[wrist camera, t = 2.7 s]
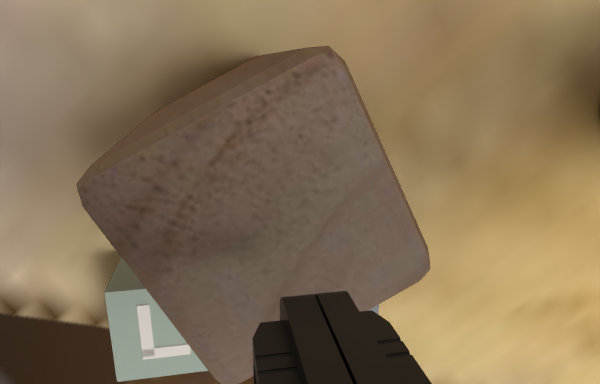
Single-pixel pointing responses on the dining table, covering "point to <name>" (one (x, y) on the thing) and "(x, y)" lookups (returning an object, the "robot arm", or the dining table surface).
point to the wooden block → (256, 203)
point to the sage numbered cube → (143, 332)
